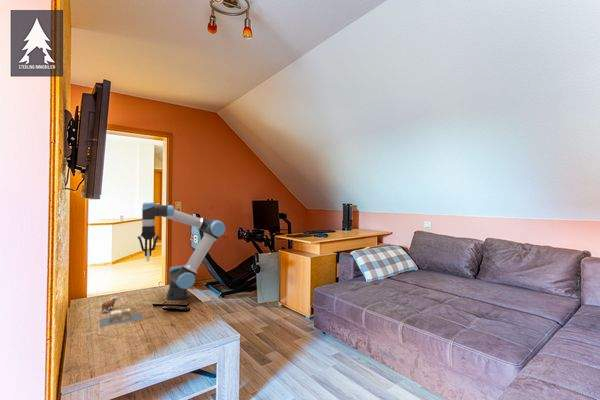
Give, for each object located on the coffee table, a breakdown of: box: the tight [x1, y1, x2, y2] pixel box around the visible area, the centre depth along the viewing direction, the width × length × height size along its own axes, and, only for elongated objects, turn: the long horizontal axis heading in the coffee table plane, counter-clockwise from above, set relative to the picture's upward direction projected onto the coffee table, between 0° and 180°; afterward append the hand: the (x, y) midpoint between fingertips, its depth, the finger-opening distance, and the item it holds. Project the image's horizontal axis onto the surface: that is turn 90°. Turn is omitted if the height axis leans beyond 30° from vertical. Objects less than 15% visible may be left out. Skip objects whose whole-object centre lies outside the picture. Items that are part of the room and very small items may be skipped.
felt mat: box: [99, 311, 144, 328], centre depth 182 cm, size 22×13×1 cm, turn 123°
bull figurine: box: [101, 295, 120, 314], centre depth 196 cm, size 4×13×8 cm, turn 174°
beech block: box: [109, 308, 131, 322], centre depth 182 cm, size 5×5×10 cm
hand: (147, 260), depth 199 cm, fingers closed
